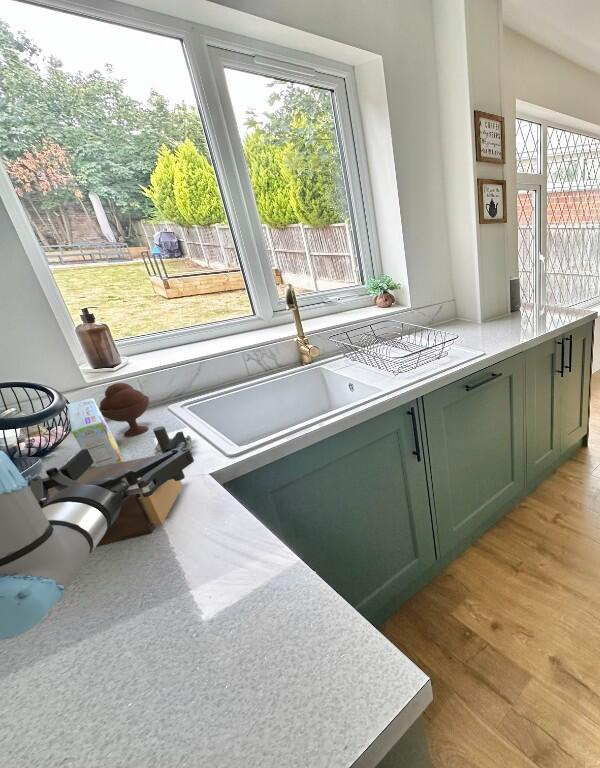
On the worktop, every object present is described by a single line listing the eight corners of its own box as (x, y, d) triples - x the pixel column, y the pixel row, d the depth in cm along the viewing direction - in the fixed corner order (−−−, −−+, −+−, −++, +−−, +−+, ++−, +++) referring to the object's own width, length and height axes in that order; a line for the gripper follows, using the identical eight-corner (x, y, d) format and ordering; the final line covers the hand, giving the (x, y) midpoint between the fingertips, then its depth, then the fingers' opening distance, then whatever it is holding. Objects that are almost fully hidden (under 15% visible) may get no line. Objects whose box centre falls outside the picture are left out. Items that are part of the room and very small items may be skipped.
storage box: (174, 492, 94) (158, 454, 90) (151, 533, 82) (132, 492, 78) (85, 512, 88) (63, 473, 84) (46, 558, 76) (19, 516, 72)
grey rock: (191, 462, 105) (185, 448, 104) (154, 471, 102) (148, 457, 100) (196, 443, 114) (191, 430, 112) (162, 451, 110) (156, 437, 109)
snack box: (91, 454, 110) (65, 403, 104) (118, 446, 114) (95, 396, 108) (98, 487, 96) (69, 430, 90) (130, 476, 100) (104, 421, 94)
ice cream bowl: (101, 440, 117) (77, 392, 111) (139, 421, 127) (120, 376, 121) (132, 443, 115) (110, 394, 109) (169, 423, 125) (150, 378, 119)
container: (202, 481, 95) (175, 413, 88) (184, 519, 83) (151, 443, 76) (92, 505, 88) (54, 433, 81) (56, 549, 77) (7, 470, 70)
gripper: (-42, 575, 52) (55, 482, 70) (192, 518, 60) (224, 448, 79) (-77, 529, 49) (33, 444, 67) (174, 476, 57) (212, 413, 76)
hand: (136, 446), depth 73 cm, fingers open, 13 cm apart
